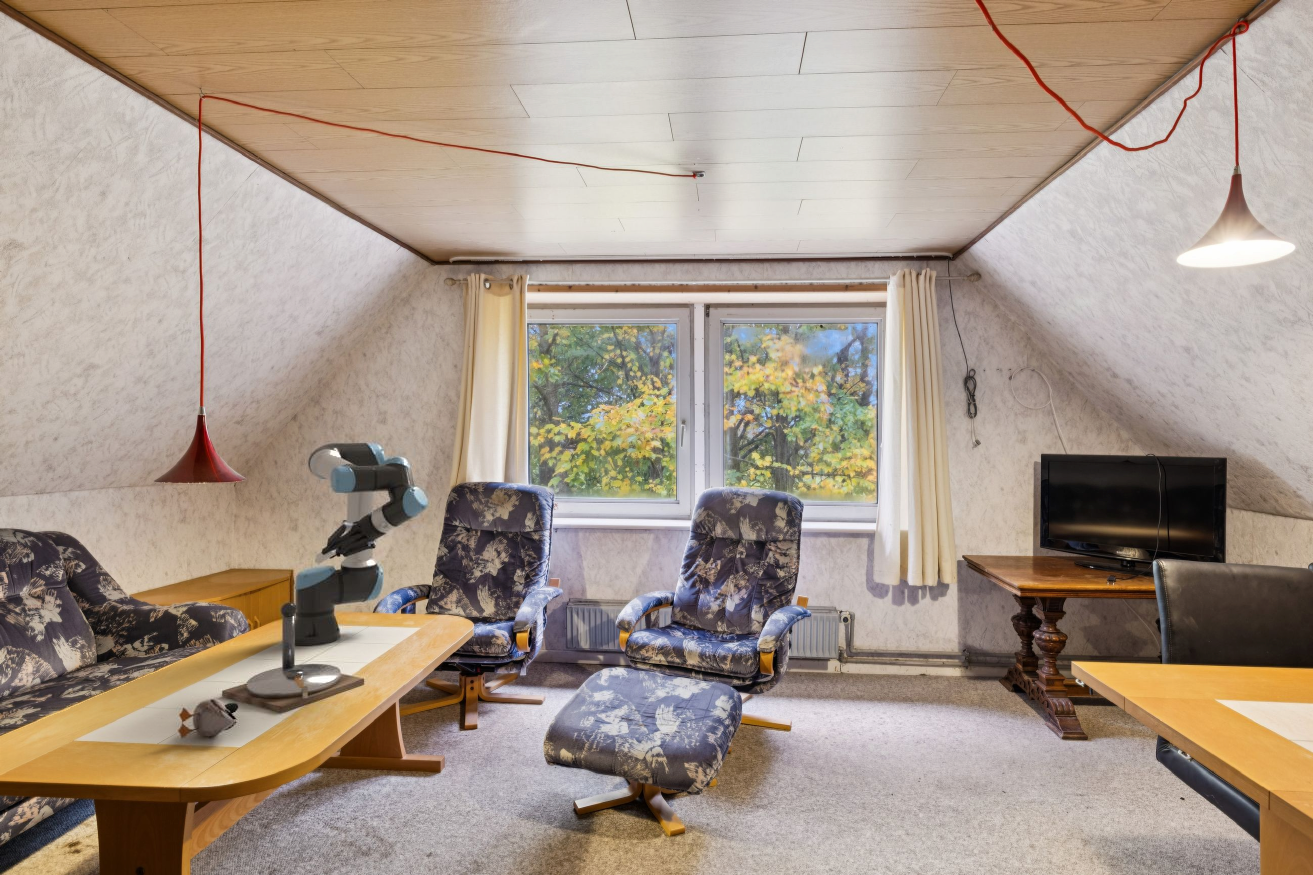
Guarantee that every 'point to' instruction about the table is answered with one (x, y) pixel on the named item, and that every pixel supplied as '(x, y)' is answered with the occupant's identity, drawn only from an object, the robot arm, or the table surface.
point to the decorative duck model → (209, 718)
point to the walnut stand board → (292, 702)
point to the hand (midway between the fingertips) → (317, 559)
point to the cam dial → (292, 668)
